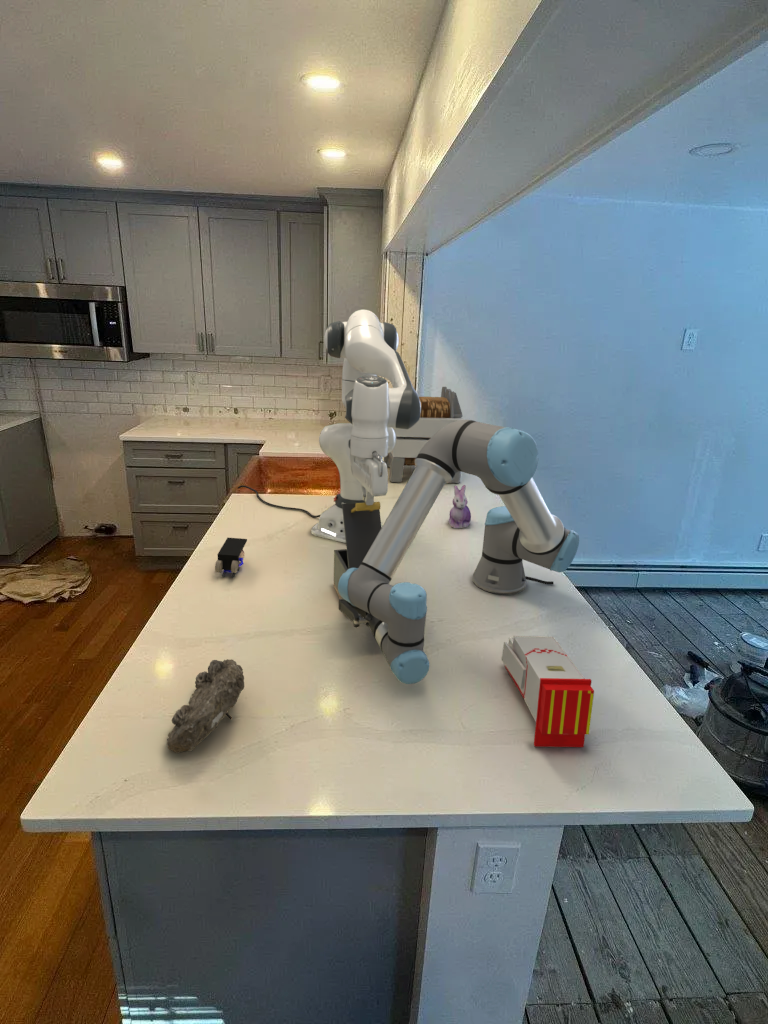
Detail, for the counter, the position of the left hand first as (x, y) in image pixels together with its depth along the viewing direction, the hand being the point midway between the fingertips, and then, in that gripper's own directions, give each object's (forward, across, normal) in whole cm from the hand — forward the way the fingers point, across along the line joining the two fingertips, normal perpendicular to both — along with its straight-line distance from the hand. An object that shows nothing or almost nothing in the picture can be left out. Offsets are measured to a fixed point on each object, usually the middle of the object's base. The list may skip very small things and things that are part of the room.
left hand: (367, 503), depth 138 cm
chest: (+30, +7, 0) cm, 31 cm away
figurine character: (+30, +32, +32) cm, 54 cm away
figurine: (+29, +54, -51) cm, 80 cm away
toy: (+31, -42, -26) cm, 58 cm away
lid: (+11, +3, 0) cm, 11 cm away
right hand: (+23, +2, 0) cm, 23 cm away
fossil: (+30, -32, +39) cm, 59 cm away
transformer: (+28, +122, -61) cm, 140 cm away
